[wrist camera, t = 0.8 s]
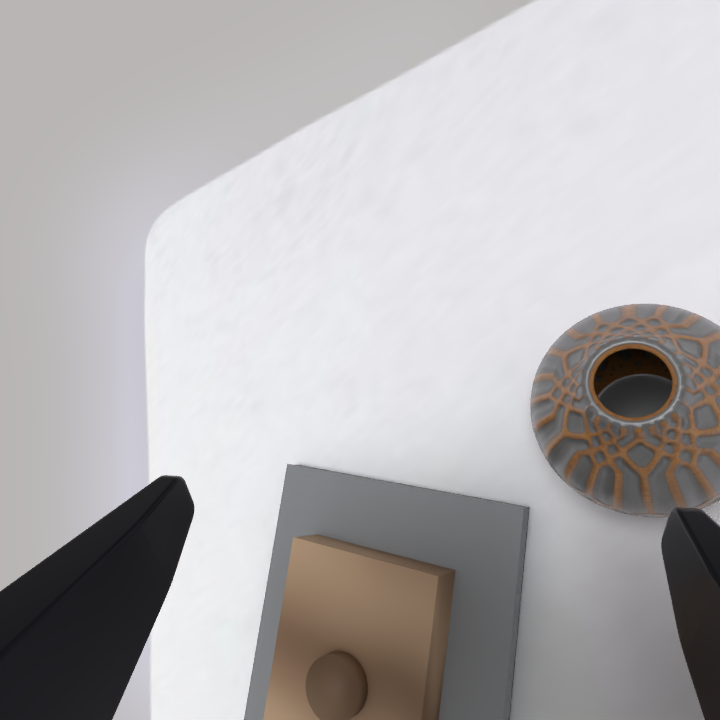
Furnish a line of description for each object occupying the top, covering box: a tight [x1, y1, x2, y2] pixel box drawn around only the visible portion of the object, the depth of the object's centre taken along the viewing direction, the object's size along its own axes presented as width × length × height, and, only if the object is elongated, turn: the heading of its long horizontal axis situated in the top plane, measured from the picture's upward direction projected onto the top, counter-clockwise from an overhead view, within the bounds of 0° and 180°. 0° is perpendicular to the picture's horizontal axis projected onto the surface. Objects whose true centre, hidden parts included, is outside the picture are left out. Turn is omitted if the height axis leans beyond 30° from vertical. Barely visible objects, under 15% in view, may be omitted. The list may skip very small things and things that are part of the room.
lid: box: [263, 534, 456, 720], centre depth 22 cm, size 10×7×3 cm
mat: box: [244, 464, 529, 720], centre depth 24 cm, size 16×12×1 cm
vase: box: [531, 304, 720, 517], centre depth 17 cm, size 7×7×9 cm
